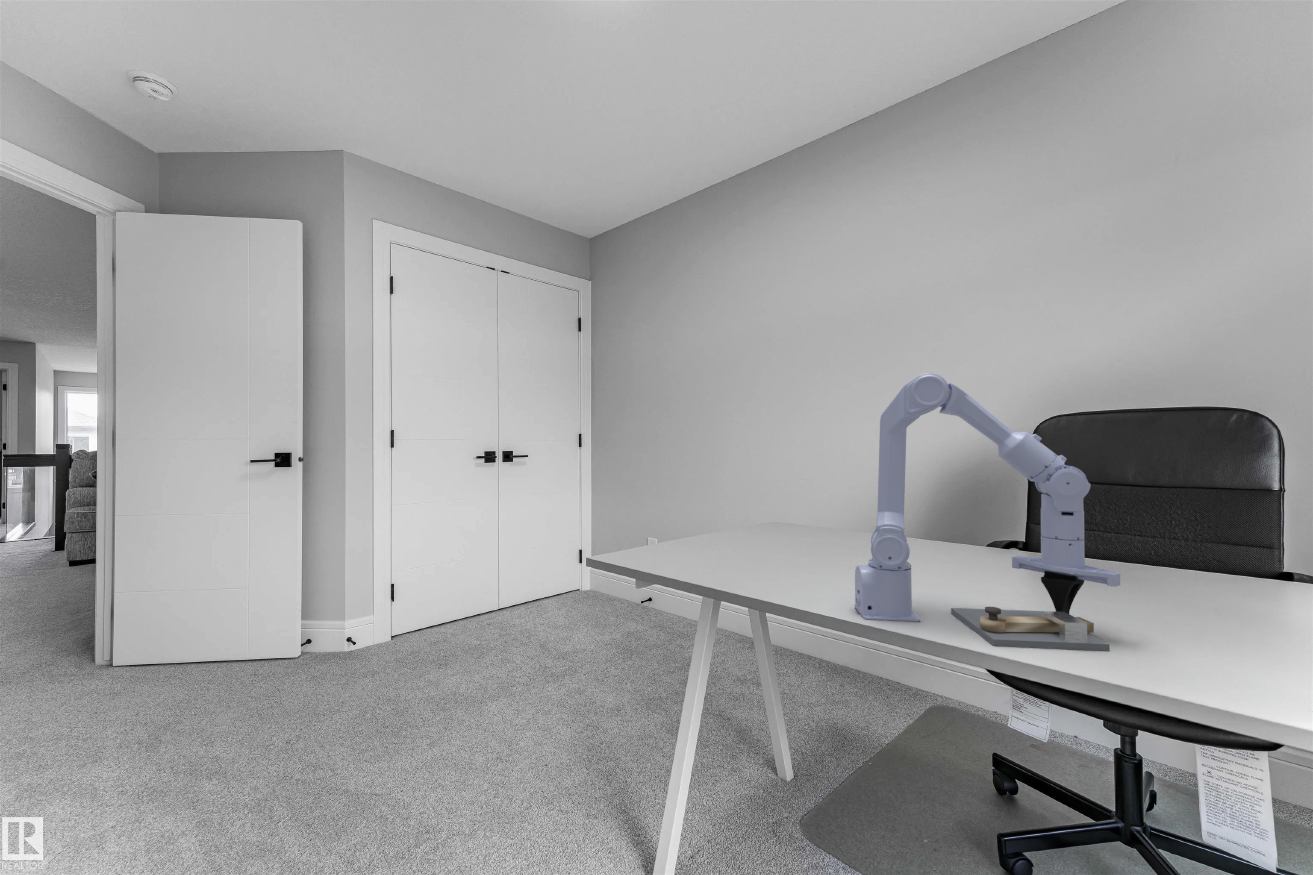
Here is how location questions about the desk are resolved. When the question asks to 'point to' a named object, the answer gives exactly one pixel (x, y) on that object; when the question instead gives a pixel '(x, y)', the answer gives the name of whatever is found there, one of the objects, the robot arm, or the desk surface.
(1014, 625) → the tan latch lever
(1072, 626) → the keeper
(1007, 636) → the base plate
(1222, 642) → the desk surface
